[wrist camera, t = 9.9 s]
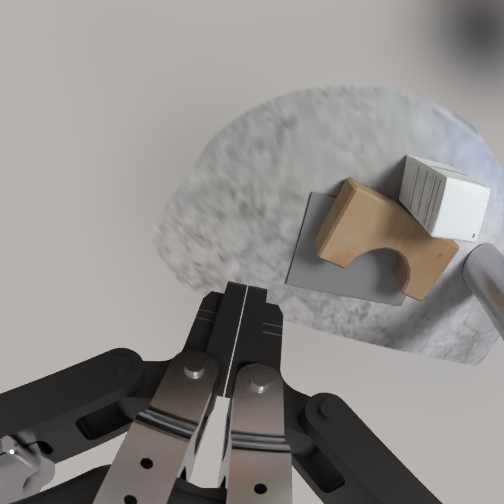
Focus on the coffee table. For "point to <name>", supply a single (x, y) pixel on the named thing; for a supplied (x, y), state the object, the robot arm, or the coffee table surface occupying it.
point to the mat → (334, 277)
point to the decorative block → (383, 237)
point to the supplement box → (443, 199)
